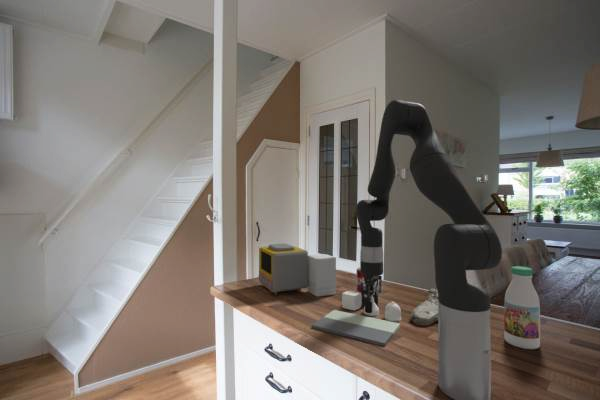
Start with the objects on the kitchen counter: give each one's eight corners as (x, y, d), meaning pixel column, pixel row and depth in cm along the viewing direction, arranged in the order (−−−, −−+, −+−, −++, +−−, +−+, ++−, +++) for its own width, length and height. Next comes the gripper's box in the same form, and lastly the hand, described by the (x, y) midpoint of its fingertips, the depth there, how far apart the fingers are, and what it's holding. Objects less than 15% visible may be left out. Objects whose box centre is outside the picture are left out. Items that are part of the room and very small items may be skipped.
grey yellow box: (257, 285, 139) (257, 243, 139) (290, 281, 145) (290, 241, 145) (272, 298, 121) (272, 250, 121) (309, 292, 128) (308, 247, 128)
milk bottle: (506, 334, 88) (506, 263, 88) (540, 342, 83) (540, 267, 83) (502, 344, 82) (502, 268, 82) (539, 353, 77) (539, 272, 77)
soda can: (376, 304, 113) (376, 271, 113) (356, 303, 114) (356, 270, 114) (376, 298, 120) (375, 267, 120) (356, 297, 122) (356, 266, 121)
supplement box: (336, 294, 125) (336, 257, 125) (316, 297, 122) (316, 258, 122) (326, 288, 133) (326, 253, 133) (307, 290, 130) (307, 254, 130)
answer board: (400, 326, 94) (400, 323, 94) (384, 346, 81) (384, 343, 81) (334, 312, 106) (334, 309, 106) (311, 327, 93) (311, 324, 93)
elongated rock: (401, 325, 98) (434, 336, 92) (402, 309, 98) (435, 319, 91) (436, 293, 125) (464, 300, 118) (437, 280, 124) (464, 286, 118)
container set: (341, 308, 109) (341, 293, 109) (349, 304, 113) (349, 289, 113) (397, 323, 96) (397, 305, 96) (403, 318, 101) (403, 301, 101)
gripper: (375, 264, 97) (375, 319, 97) (389, 257, 109) (389, 305, 109) (352, 261, 101) (352, 314, 101) (368, 255, 113) (368, 301, 113)
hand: (371, 309), depth 105 cm, fingers closed on container set, 5 cm apart
